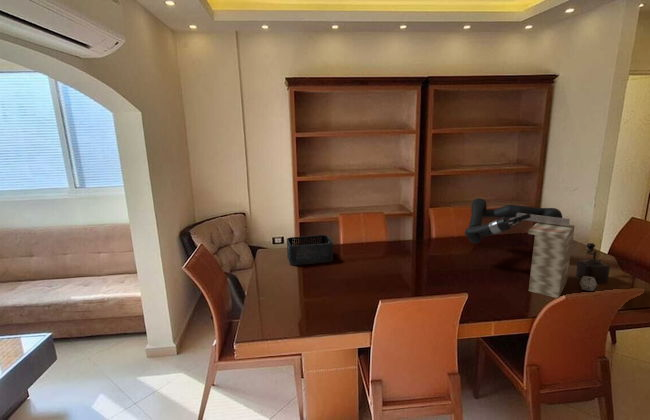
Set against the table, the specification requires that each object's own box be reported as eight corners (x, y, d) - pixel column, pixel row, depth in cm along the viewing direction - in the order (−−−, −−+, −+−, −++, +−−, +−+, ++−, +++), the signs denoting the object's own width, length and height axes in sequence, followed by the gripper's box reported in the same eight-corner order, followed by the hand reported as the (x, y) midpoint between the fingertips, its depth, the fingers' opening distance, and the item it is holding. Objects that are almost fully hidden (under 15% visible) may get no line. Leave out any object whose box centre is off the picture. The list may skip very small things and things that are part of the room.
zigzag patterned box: (522, 289, 181) (528, 229, 174) (533, 274, 198) (539, 220, 191) (558, 298, 171) (566, 235, 163) (566, 282, 188) (574, 224, 181)
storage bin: (327, 252, 244) (326, 233, 241) (334, 261, 226) (334, 242, 223) (286, 256, 238) (285, 237, 235) (290, 266, 219) (289, 246, 216)
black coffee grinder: (609, 283, 186) (614, 251, 182) (588, 283, 186) (593, 251, 182) (587, 271, 201) (592, 241, 197) (568, 272, 201) (572, 242, 197)
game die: (581, 296, 180) (570, 277, 183) (597, 290, 179) (586, 272, 183) (589, 295, 172) (578, 275, 175) (606, 289, 171) (595, 270, 174)
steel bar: (515, 218, 192) (516, 213, 192) (517, 217, 194) (517, 212, 194) (568, 225, 176) (568, 220, 176) (569, 224, 179) (569, 219, 178)
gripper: (492, 222, 196) (523, 210, 184) (500, 217, 206) (530, 206, 194) (498, 234, 195) (530, 223, 183) (506, 229, 205) (536, 218, 193)
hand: (530, 214), depth 188 cm, fingers closed on steel bar, 3 cm apart
